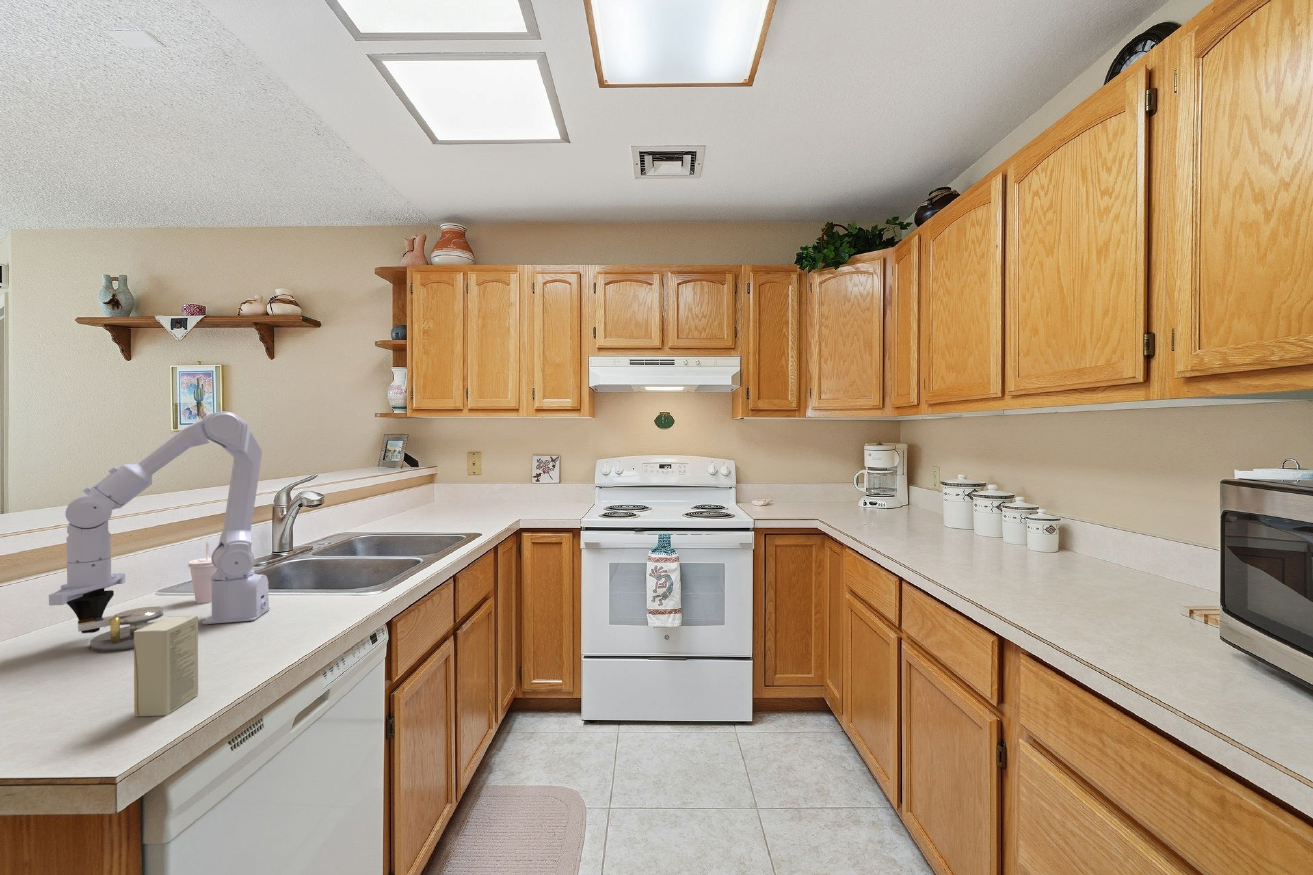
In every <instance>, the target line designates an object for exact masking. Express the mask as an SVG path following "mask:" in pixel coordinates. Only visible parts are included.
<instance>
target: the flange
mask: <svg viewBox="0 0 1313 875" xmlns="http://www.w3.org/2000/svg"><path fill="white" fill-rule="evenodd" d="M163 616H164V607H162V606H145V607H137V608H132V609H128V610H124V611H121V612H118V613H116V614H114V615H110V616H102V618H97V619H94V618H91V619H85V620H80V621H79V620H77V630H78V632H81V631H84V630H90V629H95V628H100V629H101V628H106V627H110V619H111V618H114V617H120V626H130V625H129V624H137V623H142V622H147V621H148V622H152V621H154V620H156V619H159V618H161V617H163Z"/></svg>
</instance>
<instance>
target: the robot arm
mask: <svg viewBox="0 0 1313 875" xmlns="http://www.w3.org/2000/svg"><path fill="white" fill-rule="evenodd" d="M210 441H211V442H213V443H215V444H217V445H219V446H220V447H222V449H224V450H225V451H226V452H228V454H230V456H232V457H233V461H232V462H233V463H232V468H231V476H230V482H229V488H228V494H227V495H228V496H227V500H226V501H227V502H226V509H225V515H224V519H223V520H224V521H223V527H222V531H221V534H220V537H219V542H218V545H217V546H216V547H215V549H214V550H213V552H212V554H211V557H210V558H211V561H212V563H213V565H214V566H215V567H216V568H217V570H216V572H215V573H214V574H213V575H212V576H211V592H212V602H211V616H210V617H208V618H207V619H205V620H203V621H201V624H202V625H210V624H222V623H223V624H224V623H225V624H226V623H237V622H249V621H251V622H252V621H255V620H257V619H258V618H260V617H261V616H262V615H264V614H265V613H266V612H268V611H269V610H270V609H271V607H270V605H269V603H270V602H269V598H270V597H269V596H270V595H269V579H268V577H267V575H265V574H257V573H255V570H254V569H253V568H254V565H255V561H256V560H255V556H254V554H253V552H252V543H253V541H252V524H253V518H254V510H255V505H256V497H257V490H258V485H259V483H258V482H259V478H260V469H261V462H262V458H263V449H262V447H261V446H260V444H259V442H258V441H257V439H256V437H255V435H254V434H253V432H252V431H251V428H250V426H249V424H248V423H247V422H246V421H245V420H243V419H242V418H241V417H240V416H238V415H237V414H236V413H233V412H229V411H226V410H225V411H222V410H221V411H217V412H213V413H209V414H207V415H206V416H204V417H203V418H202V419H201V420H198V421H196V422H194V423H191V424H190V425H188V426H186V427H184V428H183V429H181V430H179V431H178V432H177V433H176V434H174V435H173V436H171V437H170V438H169V439H168V440H167V441H165V442H164V443H162V444H161V445H160V446H159V447H158V448H156V449H155V450H154V451H152V452H151V453H149V455H147V456H146V457H144V458H143V459H142V460H141V461H139V462H137V463H134V464H133V463H124V464H122V465H121V466H119V467H116V466H113V467H112V468H111V469H109V470H108V473H109V474H108V475H106V477H104V478H103V479H102V480H100V481H99V482H98V483H96V484H94V485H93V486H92V487H89V486H87V487H85V488H84V489H83V490H82V492H83V493H84V494H85V495H81V496H78V497H76V498H73V499H72V501H70V503H69V504H68V506H67V507H66V509H65V512H64V514H65V518H66V520H67V521H68V526H67V528H66V533H67V534H68V536H67V537H66V583H65V584H61V585H60V589H58V590H57V591H55V592H53V593H50V594H48V606H50V607H51V606H64V605H65V604H67V606H68V607H69V608H70V609H72V611H73V612H74V613H75V616H76V618H77V621H80V620H85V619H91V618H94V619H97V618H102V617H103V616H104V615H103V614H104V612H105V610H106V608H107V606H108V604H109V602H110V601H111V600H112V598H113V597H114V595H115V593H114V590H111V589H110V590H105V589H107V588H110V587H113V586H117V585H122V584H124V583H126V573H125V572H121V573H120V572H119V573H116V572H115V573H112V545H111V544H112V542H111V540H112V538H111V537H112V535H111V533H110V531H109V519H110V518H111V517H112V513H113V510H116V509H122V508H123V507H125V505H127V504H128V503H129V502H130V501H132V500H133V499H135V498H136V497H138V496H139V495H140V494H141V493H143V491H145V490H146V489H148V488H149V487H150V486H152V485H153V475H154V474H155V473H156V472H158V471H160V470H161V469H163V467H165V466H167V465H168V464H169V463H171V462H172V461H174V460H175V459H176V458H178V457H180V456H181V455H182V454H183V453H185V452H186V451H188V450H189V449H191V448H194V447H198V446H203V445H207V444H210ZM100 629H101V627H100V628H95V629H90V630H84V631H80V632H81V634H94V633H97V632H99V631H100Z"/></svg>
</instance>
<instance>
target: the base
mask: <svg viewBox="0 0 1313 875" xmlns="http://www.w3.org/2000/svg"><path fill="white" fill-rule="evenodd" d="M154 622H155V621H147V622H142V623H137V624H129V625H126V626H123V627H121V625H120V617H114V618H111V619H110V626H109V631H106V632H103V633H101V634H98V635H97V636H95V637H93V638H91V640H90V643H89V644H90V645H89V648H90V651H91V652H95V653H116V652H118V653H119V652H124V651H125V652H126V651H131V650H130V649H133V650H134V631H136V630H138V629H140V628H143V627H145V626H147V625H149V624H152V623H154Z"/></svg>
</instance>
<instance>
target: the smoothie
mask: <svg viewBox="0 0 1313 875" xmlns="http://www.w3.org/2000/svg"><path fill="white" fill-rule="evenodd" d="M205 545H206V546H205V547H206V548H205V552H206V553H205V556H206V557H203V558H197V559H193V560H190V561H189V562H188V565H187V566H188V568H189V570H190V574H191V582H192V589H193V593H194V594H193V595H194V599H195V603H196V604H199V605H202V604H209V603H212V592H211V576H212V575H213V574H214V573H215V572H216V570H217V568H216V567H215V566H214V565H213V563H212V561H211V557H210V541H206V542H205Z"/></svg>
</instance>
